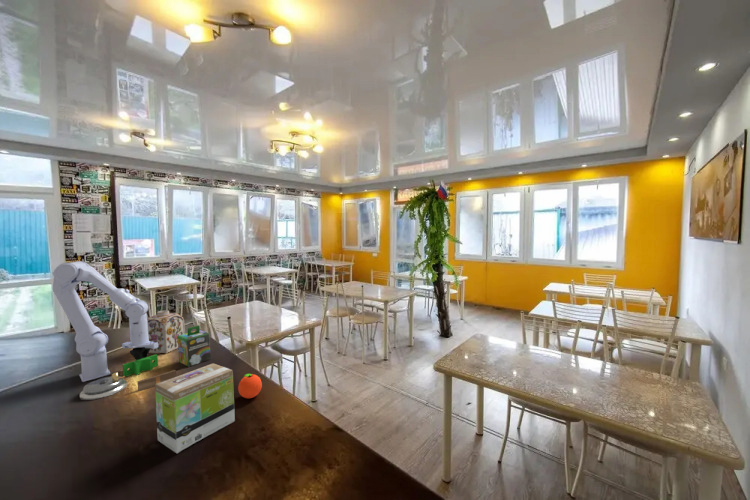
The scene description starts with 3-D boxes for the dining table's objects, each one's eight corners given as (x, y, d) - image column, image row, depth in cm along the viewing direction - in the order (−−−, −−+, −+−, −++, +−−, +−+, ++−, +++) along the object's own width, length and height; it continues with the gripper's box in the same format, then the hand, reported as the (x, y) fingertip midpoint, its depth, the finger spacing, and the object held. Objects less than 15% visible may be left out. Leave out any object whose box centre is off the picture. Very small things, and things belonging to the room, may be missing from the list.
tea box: (177, 455, 71) (173, 393, 71) (157, 441, 77) (152, 383, 76) (236, 421, 84) (233, 368, 83) (215, 411, 89) (212, 361, 89)
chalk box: (201, 355, 134) (199, 321, 134) (211, 359, 129) (209, 324, 128) (178, 362, 127) (175, 327, 126) (188, 367, 121) (185, 330, 121)
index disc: (74, 395, 99) (73, 381, 99) (101, 380, 109) (100, 368, 109) (106, 393, 100) (105, 380, 100) (130, 379, 110) (129, 367, 110)
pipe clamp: (127, 378, 114) (126, 366, 114) (123, 376, 116) (122, 364, 116) (161, 366, 123) (160, 355, 123) (157, 365, 125) (156, 354, 125)
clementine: (233, 396, 97) (232, 374, 97) (254, 388, 102) (253, 367, 102) (244, 405, 92) (243, 382, 91) (266, 396, 97) (265, 373, 96)
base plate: (77, 392, 104) (77, 389, 104) (122, 379, 113) (122, 376, 113) (82, 404, 96) (81, 401, 96) (130, 388, 105) (130, 386, 105)
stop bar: (138, 390, 104) (137, 381, 104) (175, 377, 112) (174, 369, 112) (139, 391, 103) (138, 382, 103) (176, 378, 112) (175, 370, 112)
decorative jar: (143, 353, 139) (140, 314, 138) (165, 344, 151) (162, 308, 150) (166, 354, 137) (164, 314, 136) (186, 344, 149) (184, 308, 148)
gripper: (113, 335, 119) (116, 369, 120) (146, 335, 117) (148, 370, 117) (130, 329, 126) (133, 362, 127) (161, 329, 124) (164, 362, 124)
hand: (141, 365), depth 122 cm, fingers closed
